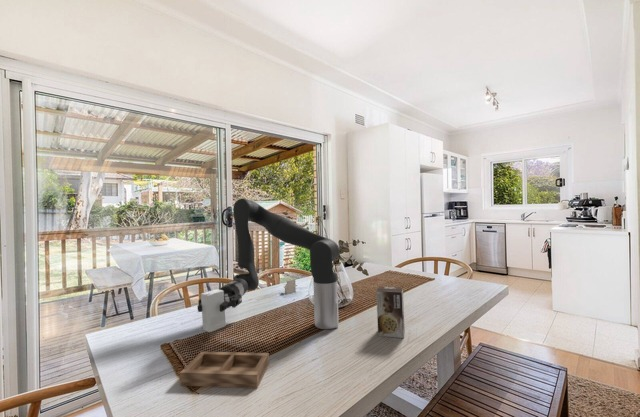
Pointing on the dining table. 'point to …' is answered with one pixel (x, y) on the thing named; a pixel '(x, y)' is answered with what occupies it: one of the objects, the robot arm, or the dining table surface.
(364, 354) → the dining table surface
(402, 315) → the grey brown upright block
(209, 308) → the skincare box
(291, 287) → the architectural model
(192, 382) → the wooden compartment tray
